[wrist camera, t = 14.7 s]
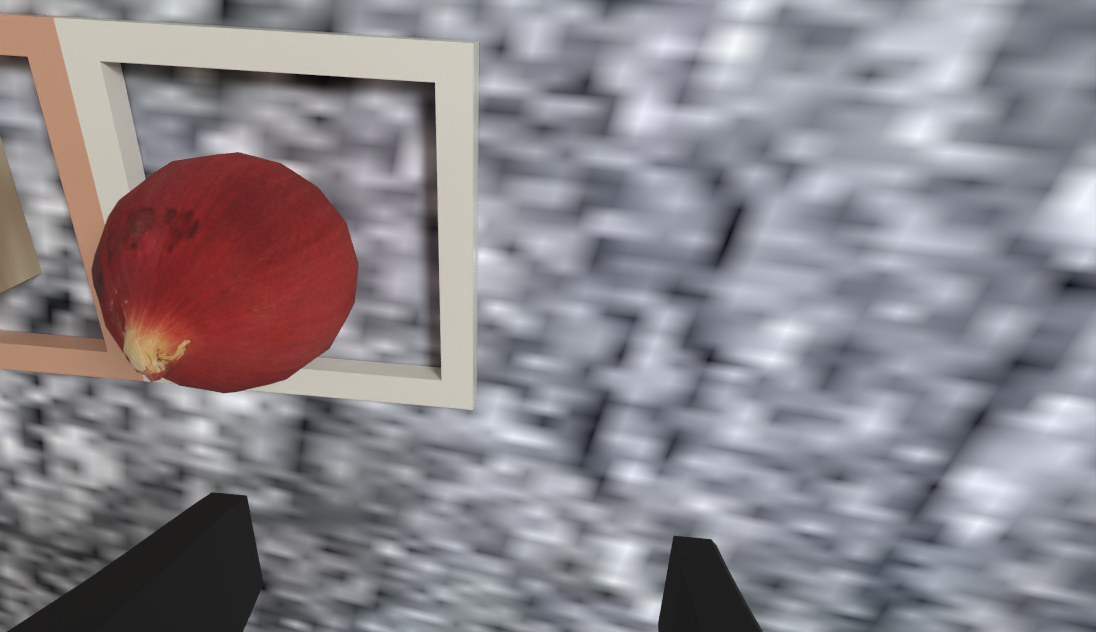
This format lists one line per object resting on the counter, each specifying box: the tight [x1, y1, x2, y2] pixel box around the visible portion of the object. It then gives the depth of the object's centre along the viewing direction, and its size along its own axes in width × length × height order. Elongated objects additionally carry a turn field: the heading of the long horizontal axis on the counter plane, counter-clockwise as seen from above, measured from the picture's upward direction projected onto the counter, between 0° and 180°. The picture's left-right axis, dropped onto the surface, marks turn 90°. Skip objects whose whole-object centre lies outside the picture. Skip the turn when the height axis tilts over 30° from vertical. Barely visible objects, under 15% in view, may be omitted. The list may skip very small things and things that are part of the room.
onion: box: [91, 152, 358, 393], centre depth 16 cm, size 6×6×8 cm
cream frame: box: [53, 17, 479, 410], centre depth 20 cm, size 11×11×1 cm
